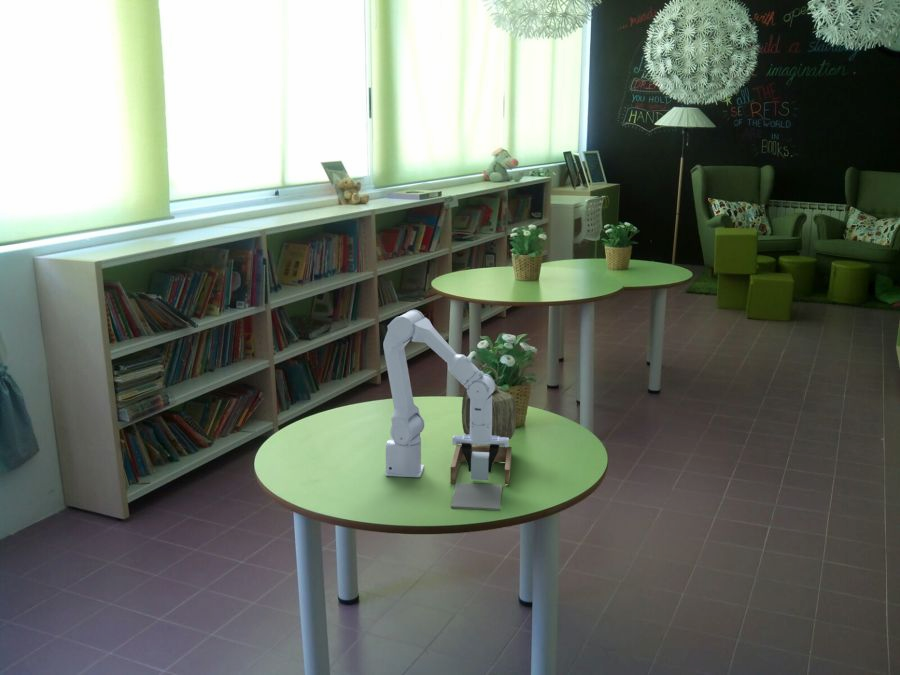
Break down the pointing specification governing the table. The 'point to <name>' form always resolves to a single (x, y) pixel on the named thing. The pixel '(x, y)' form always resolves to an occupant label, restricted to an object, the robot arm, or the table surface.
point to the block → (479, 465)
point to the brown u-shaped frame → (501, 456)
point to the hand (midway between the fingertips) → (480, 470)
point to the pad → (477, 496)
